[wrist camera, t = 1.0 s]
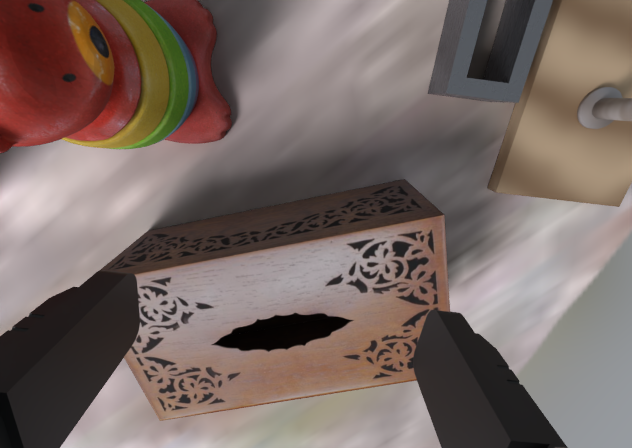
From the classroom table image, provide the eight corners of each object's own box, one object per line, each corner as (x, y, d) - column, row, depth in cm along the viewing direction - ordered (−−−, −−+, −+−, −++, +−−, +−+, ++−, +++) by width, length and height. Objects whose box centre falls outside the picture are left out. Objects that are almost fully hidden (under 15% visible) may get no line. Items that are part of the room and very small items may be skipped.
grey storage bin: (457, -36, 24) (484, -60, 20) (529, -25, 24) (568, -47, 20) (427, 93, 27) (446, 93, 23) (490, 101, 27) (518, 102, 24)
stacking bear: (236, 139, 28) (131, 198, 12) (126, 149, 29) (-128, 222, 12) (210, -5, 24) (-4, -218, 8) (82, 9, 25) (-390, -169, 8)
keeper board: (554, -12, 24) (650, -56, 17) (698, 10, 25) (847, -23, 18) (487, 188, 30) (539, 215, 23) (605, 201, 31) (690, 232, 24)
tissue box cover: (403, 178, 30) (444, 214, 21) (416, 301, 35) (453, 374, 26) (149, 229, 32) (82, 284, 23) (198, 339, 37) (160, 420, 28)
